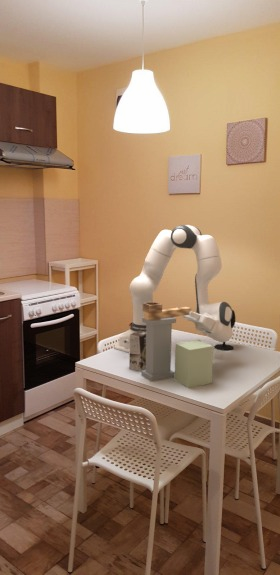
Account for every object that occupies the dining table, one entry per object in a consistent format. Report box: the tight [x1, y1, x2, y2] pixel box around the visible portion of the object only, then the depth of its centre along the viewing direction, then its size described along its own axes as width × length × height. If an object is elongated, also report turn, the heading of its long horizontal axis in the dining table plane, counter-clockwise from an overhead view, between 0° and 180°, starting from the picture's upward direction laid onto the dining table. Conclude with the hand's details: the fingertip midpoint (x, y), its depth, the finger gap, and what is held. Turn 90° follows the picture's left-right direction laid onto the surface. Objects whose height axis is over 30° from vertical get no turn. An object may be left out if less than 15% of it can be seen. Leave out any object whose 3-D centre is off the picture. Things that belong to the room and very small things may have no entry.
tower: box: [140, 317, 177, 382], centre depth 191 cm, size 12×8×26 cm, turn 119°
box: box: [174, 339, 214, 389], centre depth 187 cm, size 12×10×16 cm
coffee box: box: [128, 330, 146, 372], centre depth 203 cm, size 9×6×16 cm
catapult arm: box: [142, 301, 192, 320], centre depth 191 cm, size 22×6×6 cm, turn 119°
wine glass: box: [213, 309, 236, 352], centre depth 234 cm, size 10×10×20 cm
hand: (183, 310), depth 195 cm, fingers open, 8 cm apart
